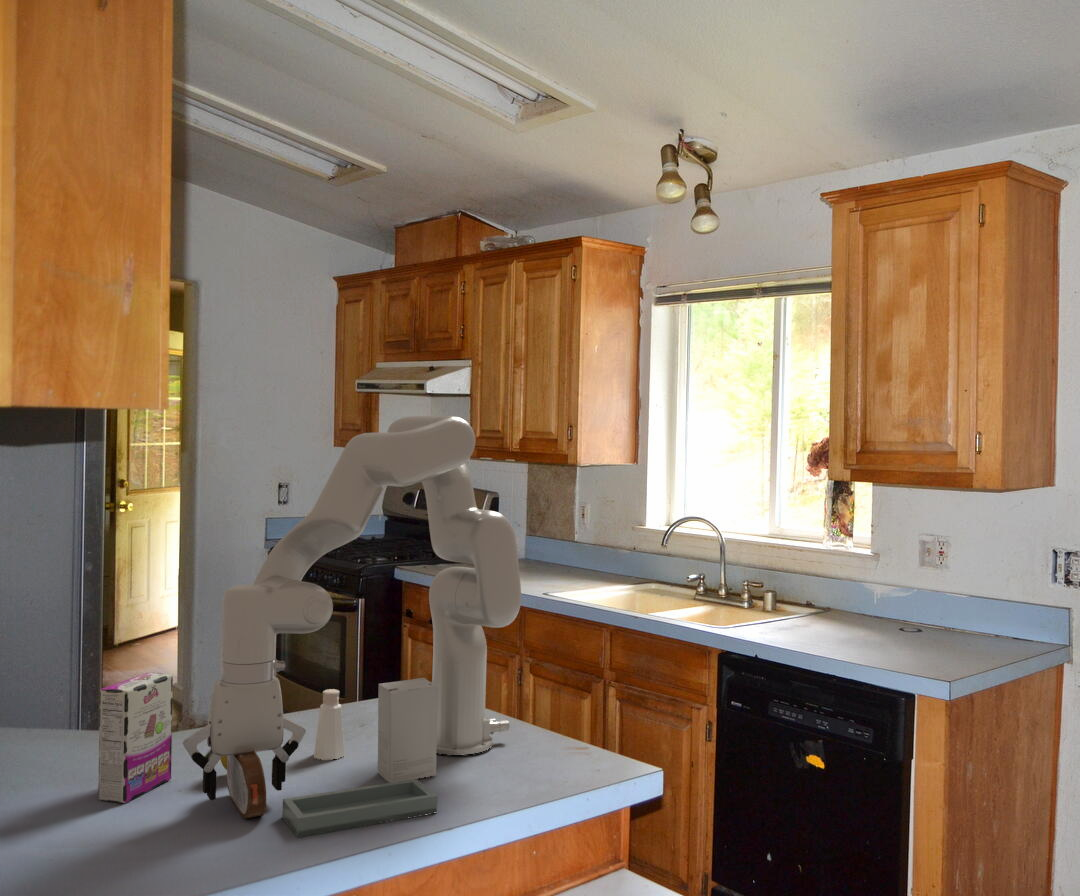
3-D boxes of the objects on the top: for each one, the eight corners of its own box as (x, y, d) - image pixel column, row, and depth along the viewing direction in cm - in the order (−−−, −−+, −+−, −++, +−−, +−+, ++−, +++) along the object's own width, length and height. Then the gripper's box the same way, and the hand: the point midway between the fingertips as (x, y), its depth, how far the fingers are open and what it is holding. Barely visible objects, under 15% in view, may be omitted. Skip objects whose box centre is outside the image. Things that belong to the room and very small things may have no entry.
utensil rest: (415, 795, 142) (416, 778, 142) (436, 813, 135) (437, 795, 135) (282, 817, 132) (282, 799, 133) (297, 837, 126) (298, 818, 126)
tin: (267, 824, 130) (269, 762, 130) (244, 828, 128) (246, 766, 129) (243, 789, 143) (245, 734, 143) (221, 793, 142) (223, 736, 142)
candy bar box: (143, 776, 148) (147, 671, 148) (172, 780, 146) (175, 673, 147) (94, 801, 137) (98, 687, 137) (124, 805, 136) (128, 690, 136)
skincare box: (423, 766, 156) (425, 676, 156) (437, 778, 151) (440, 684, 151) (374, 773, 152) (377, 681, 152) (387, 785, 146) (390, 689, 147)
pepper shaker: (307, 759, 158) (309, 693, 158) (320, 749, 163) (322, 685, 164) (338, 761, 157) (340, 695, 157) (350, 752, 162) (352, 688, 163)
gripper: (300, 662, 144) (297, 776, 143) (180, 671, 135) (176, 793, 135) (314, 672, 137) (311, 791, 137) (189, 683, 129) (185, 810, 128)
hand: (244, 792), depth 136 cm, fingers open, 8 cm apart
